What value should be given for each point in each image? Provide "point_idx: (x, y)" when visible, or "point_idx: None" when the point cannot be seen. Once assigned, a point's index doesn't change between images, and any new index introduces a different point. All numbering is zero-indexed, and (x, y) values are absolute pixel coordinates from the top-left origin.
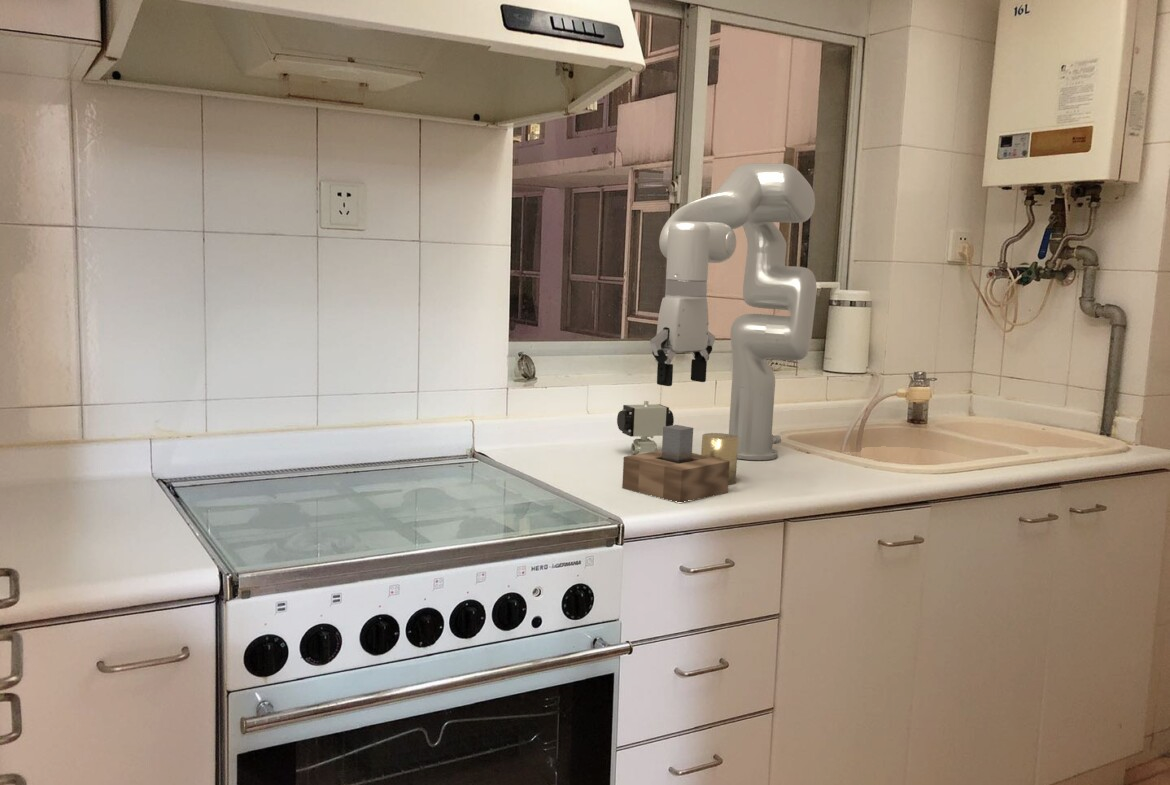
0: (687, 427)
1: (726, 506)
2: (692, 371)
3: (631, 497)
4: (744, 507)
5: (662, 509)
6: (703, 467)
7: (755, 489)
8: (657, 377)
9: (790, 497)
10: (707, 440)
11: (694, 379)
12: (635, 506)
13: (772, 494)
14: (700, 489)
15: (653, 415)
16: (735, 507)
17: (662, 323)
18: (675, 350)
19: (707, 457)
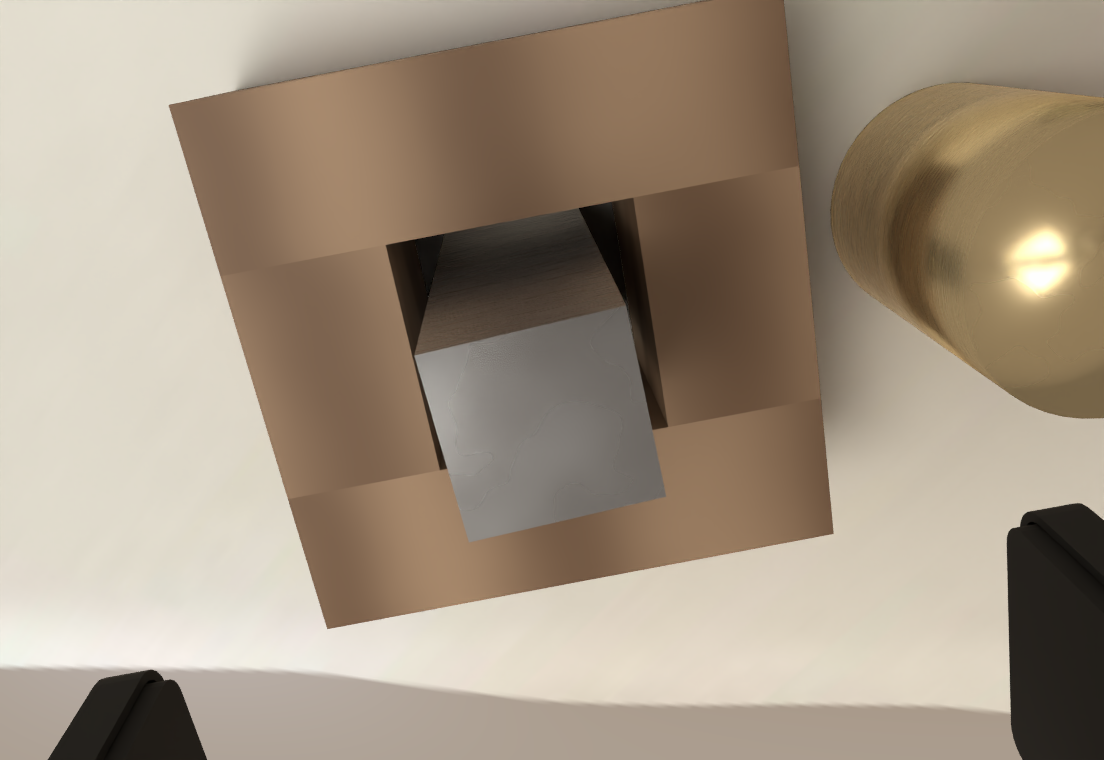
0: (625, 464)
1: (549, 651)
2: (1094, 637)
3: (168, 310)
4: (618, 695)
5: (196, 576)
6: (549, 582)
7: (972, 452)
8: (60, 754)
9: (985, 644)
10: (951, 277)
11: (1015, 603)
12: (85, 477)
13: (958, 567)
14: None
15: None
16: (577, 680)
17: None
18: None
19: (781, 388)
